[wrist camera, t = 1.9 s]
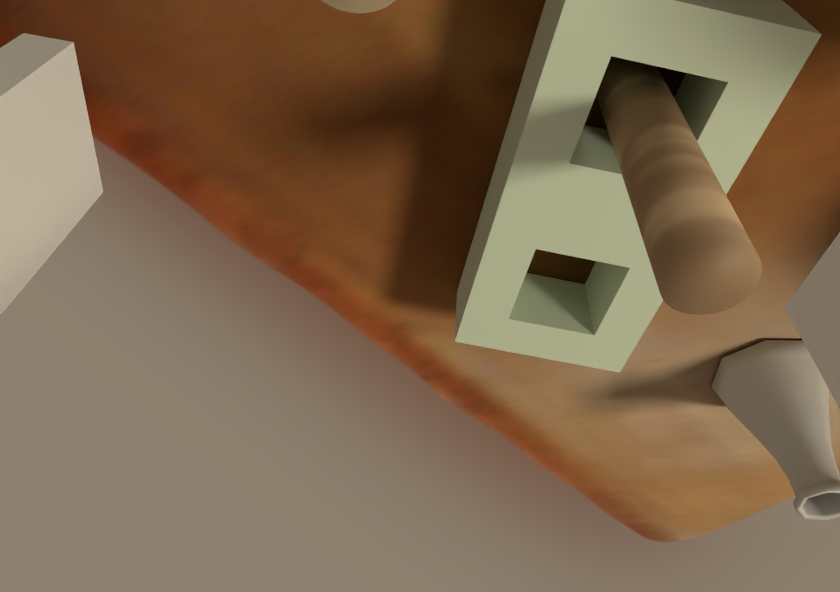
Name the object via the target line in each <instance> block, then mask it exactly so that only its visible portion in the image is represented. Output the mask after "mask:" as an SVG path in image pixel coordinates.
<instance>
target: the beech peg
mask: <svg viewBox="0 0 840 592" xmlns="http://www.w3.org/2000/svg"><path fill="white" fill-rule="evenodd" d="M322 1H323V2H324V3H326V4H328V5H329V6H331V7H334V8H336V9H338V10H341V11H345V12H350V13H369V12H374V11H377V10H380V9H382V8H385V7H387V6H388V5H390V4H392V3H393V2H394V1H396V0H322Z"/></svg>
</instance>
